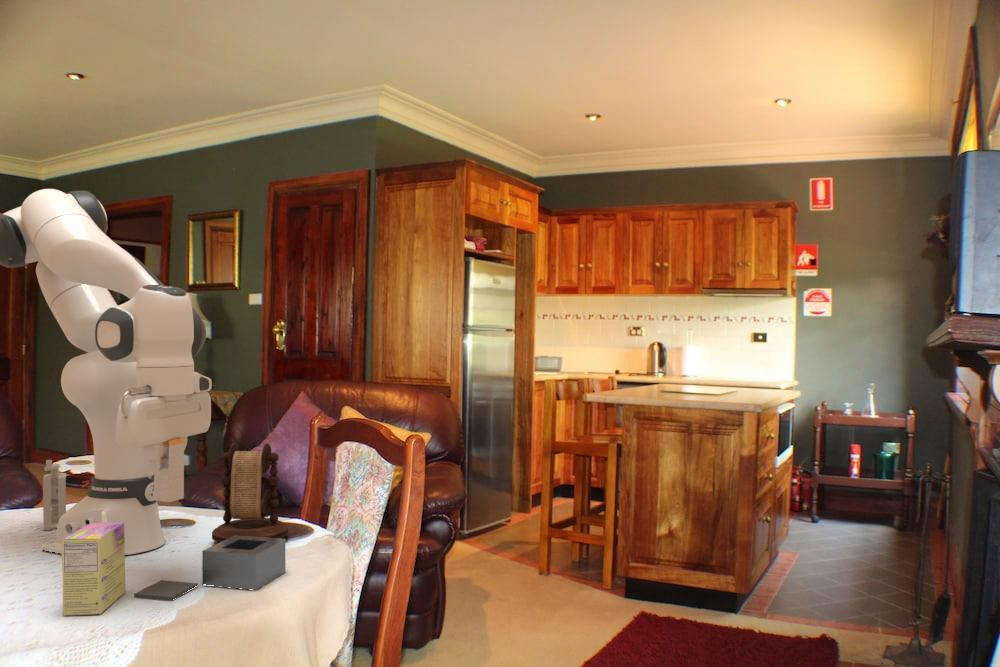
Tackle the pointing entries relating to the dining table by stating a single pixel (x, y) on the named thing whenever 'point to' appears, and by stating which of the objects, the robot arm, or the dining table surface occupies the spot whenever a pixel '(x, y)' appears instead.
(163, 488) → the orange tipped grey block
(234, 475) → the scroll
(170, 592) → the mat
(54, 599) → the dining table surface
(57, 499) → the white pump bottle
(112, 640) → the dining table surface
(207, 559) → the square frame
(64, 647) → the dining table surface
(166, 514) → the dining table surface
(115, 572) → the box
